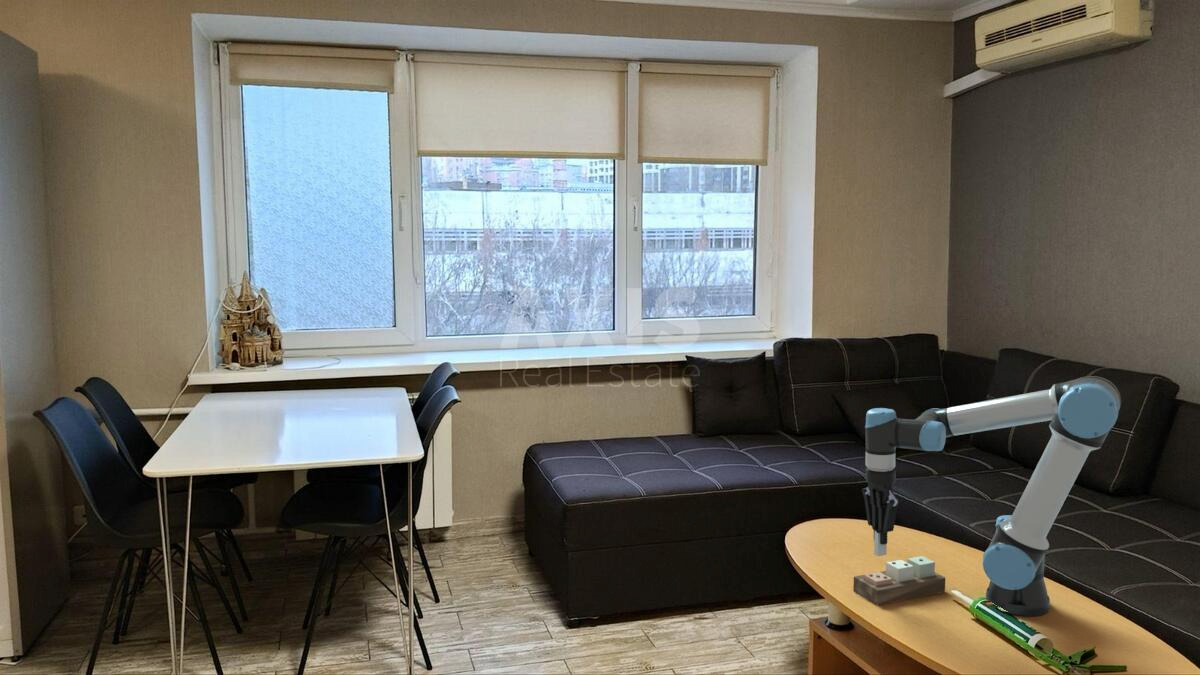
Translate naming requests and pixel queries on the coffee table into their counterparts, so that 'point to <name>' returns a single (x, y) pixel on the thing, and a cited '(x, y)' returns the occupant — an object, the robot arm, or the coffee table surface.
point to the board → (899, 588)
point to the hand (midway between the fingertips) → (880, 554)
